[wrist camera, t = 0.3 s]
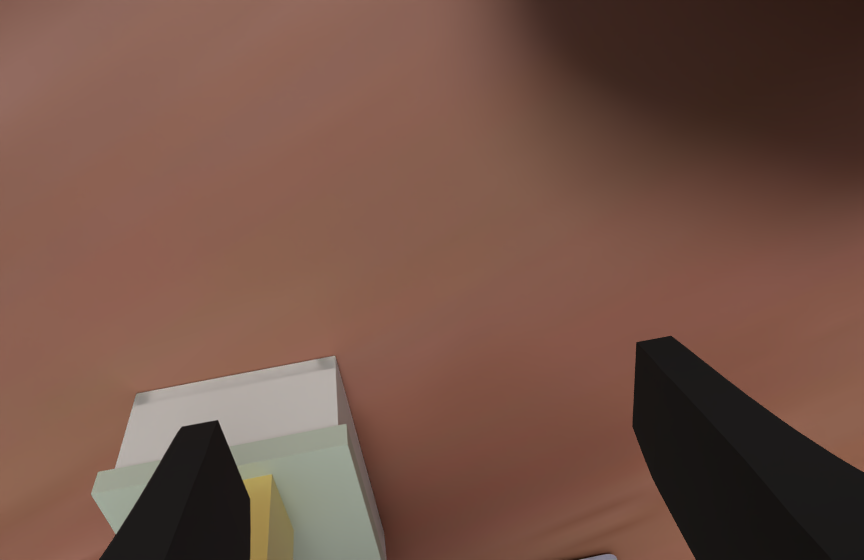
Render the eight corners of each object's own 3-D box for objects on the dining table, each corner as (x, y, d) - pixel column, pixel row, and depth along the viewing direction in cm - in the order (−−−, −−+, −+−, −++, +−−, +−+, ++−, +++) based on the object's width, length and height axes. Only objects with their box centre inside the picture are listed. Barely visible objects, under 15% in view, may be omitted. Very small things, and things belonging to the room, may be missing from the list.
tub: (384, 532, 30) (391, 613, 27) (222, 565, 29) (213, 649, 26) (334, 355, 24) (338, 432, 21) (136, 393, 24) (112, 476, 21)
